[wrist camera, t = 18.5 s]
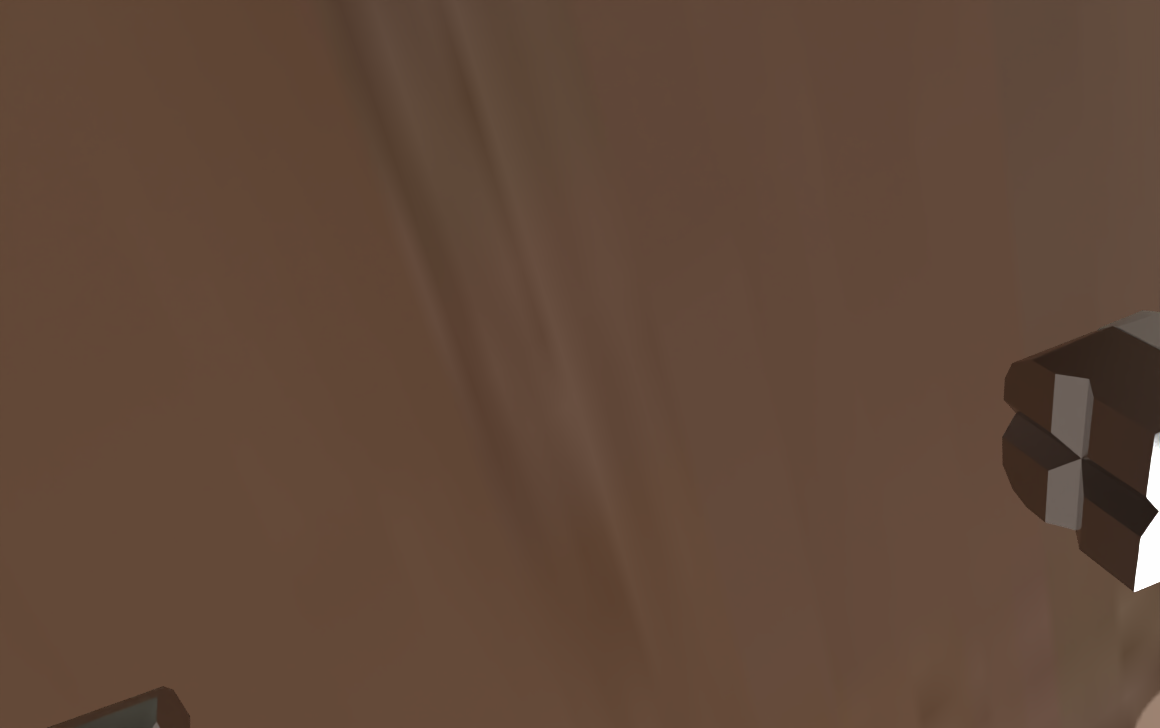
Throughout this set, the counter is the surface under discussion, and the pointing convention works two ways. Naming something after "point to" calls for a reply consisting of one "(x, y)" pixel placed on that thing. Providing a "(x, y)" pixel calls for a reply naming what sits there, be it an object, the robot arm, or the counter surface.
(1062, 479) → the robot arm
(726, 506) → the counter surface
